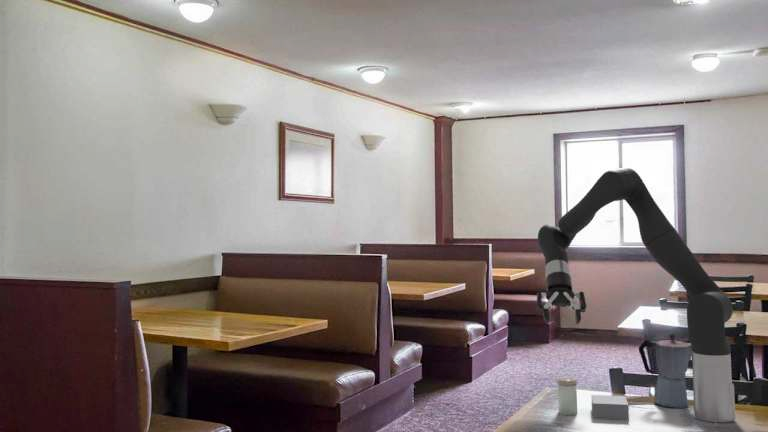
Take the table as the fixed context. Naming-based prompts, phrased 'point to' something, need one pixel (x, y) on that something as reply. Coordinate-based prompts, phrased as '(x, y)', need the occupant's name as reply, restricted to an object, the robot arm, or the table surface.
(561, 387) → the canister
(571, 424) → the table surface
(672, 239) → the robot arm
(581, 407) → the table surface
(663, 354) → the moka pot
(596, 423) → the table surface
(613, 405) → the stand
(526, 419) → the table surface
